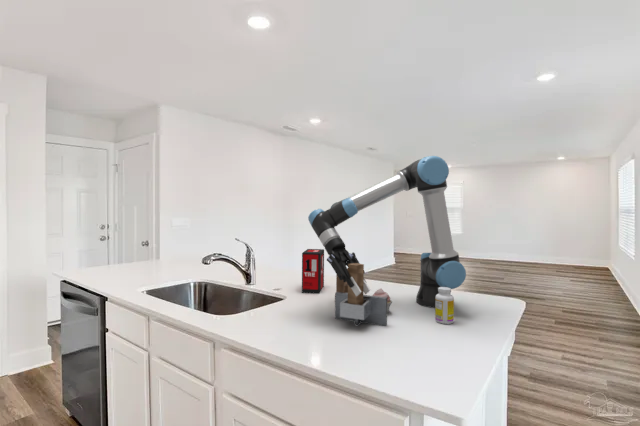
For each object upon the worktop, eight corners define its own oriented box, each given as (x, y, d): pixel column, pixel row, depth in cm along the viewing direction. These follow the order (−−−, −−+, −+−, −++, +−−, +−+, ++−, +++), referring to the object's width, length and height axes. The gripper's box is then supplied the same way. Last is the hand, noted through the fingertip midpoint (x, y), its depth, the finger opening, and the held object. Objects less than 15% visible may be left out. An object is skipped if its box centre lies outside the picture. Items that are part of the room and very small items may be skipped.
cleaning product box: (319, 293, 180) (319, 253, 179) (301, 293, 181) (302, 253, 181) (323, 286, 196) (324, 249, 196) (307, 285, 198) (307, 248, 197)
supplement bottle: (453, 320, 140) (454, 287, 140) (453, 325, 134) (454, 290, 134) (435, 318, 143) (435, 285, 142) (434, 323, 136) (435, 289, 136)
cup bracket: (387, 324, 135) (387, 297, 135) (379, 333, 125) (379, 304, 125) (336, 317, 143) (337, 291, 143) (325, 325, 133) (326, 298, 133)
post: (355, 302, 136) (355, 262, 135) (363, 305, 133) (363, 264, 132) (347, 304, 133) (348, 264, 133) (355, 307, 130) (356, 265, 130)
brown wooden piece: (353, 298, 171) (354, 260, 171) (341, 303, 162) (341, 263, 162) (347, 297, 173) (347, 259, 173) (334, 302, 165) (334, 262, 164)
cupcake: (396, 312, 150) (396, 288, 150) (384, 317, 143) (384, 292, 143) (377, 307, 156) (377, 284, 156) (364, 312, 149) (364, 288, 149)
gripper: (343, 247, 150) (373, 295, 137) (311, 250, 138) (340, 302, 126) (352, 235, 145) (384, 283, 133) (320, 237, 134) (352, 290, 122)
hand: (363, 292), depth 130 cm, fingers closed on post, 4 cm apart
